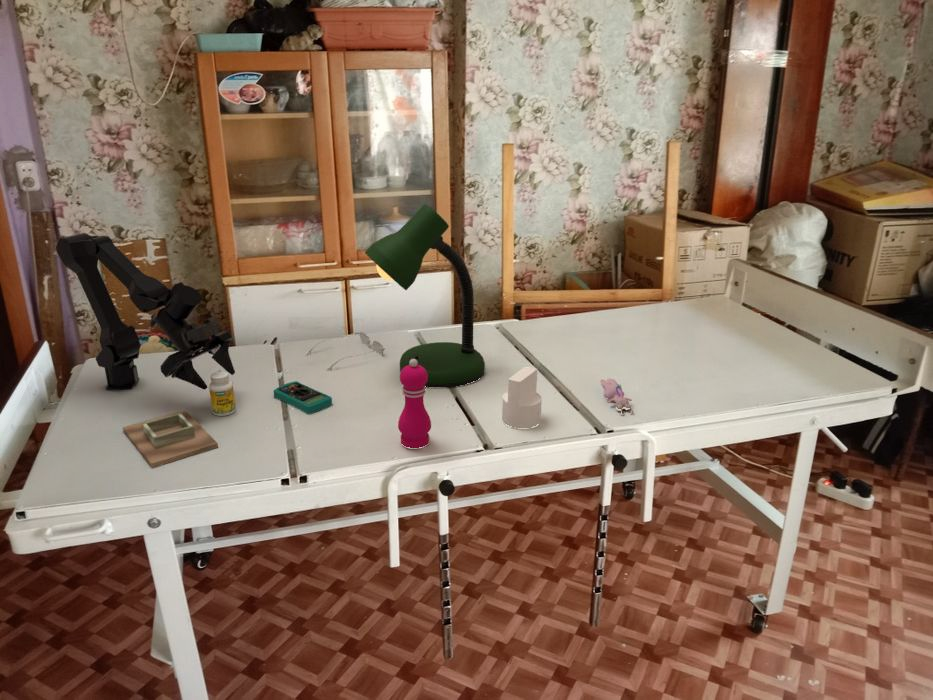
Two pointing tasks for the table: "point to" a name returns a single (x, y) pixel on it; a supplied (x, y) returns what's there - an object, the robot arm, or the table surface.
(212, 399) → the supplement bottle
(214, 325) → the robot arm
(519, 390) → the cylinder with rectangular tab
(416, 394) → the pepper mill
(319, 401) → the digital multimeter
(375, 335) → the table surface
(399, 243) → the desk lamp
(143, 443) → the bottle holder
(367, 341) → the eyeglasses
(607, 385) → the rabbit figure
